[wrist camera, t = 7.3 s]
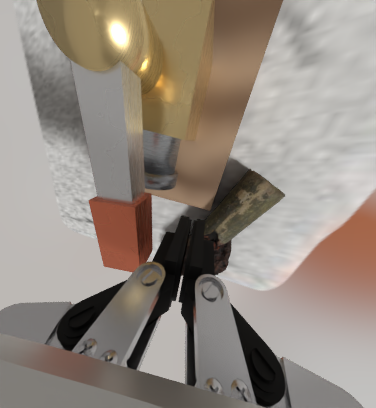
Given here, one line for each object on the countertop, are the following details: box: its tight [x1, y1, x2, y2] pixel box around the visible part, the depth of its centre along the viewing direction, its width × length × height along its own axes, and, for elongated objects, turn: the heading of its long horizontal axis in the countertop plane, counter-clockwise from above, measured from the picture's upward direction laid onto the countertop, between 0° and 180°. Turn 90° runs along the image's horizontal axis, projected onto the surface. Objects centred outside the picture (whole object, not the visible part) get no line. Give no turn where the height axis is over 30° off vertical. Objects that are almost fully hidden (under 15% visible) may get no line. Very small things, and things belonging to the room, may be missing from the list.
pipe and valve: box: [141, 0, 215, 190], centre depth 11 cm, size 16×7×7 cm, turn 167°
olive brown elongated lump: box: [181, 169, 285, 276], centre depth 19 cm, size 18×7×6 cm, turn 143°
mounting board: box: [145, 0, 283, 211], centre depth 14 cm, size 24×15×2 cm, turn 167°
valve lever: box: [37, 0, 163, 272], centre depth 8 cm, size 14×3×3 cm, turn 174°
